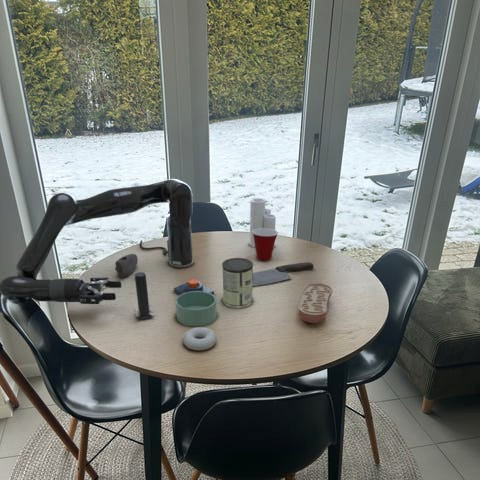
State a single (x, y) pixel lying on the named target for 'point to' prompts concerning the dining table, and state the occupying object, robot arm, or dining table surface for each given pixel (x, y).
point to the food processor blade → (142, 297)
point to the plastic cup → (264, 242)
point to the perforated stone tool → (126, 265)
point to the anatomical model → (314, 302)
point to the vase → (260, 217)
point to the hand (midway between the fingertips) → (118, 290)
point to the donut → (199, 344)
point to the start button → (193, 283)
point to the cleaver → (278, 273)
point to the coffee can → (237, 282)
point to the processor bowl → (196, 308)
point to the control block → (186, 288)
